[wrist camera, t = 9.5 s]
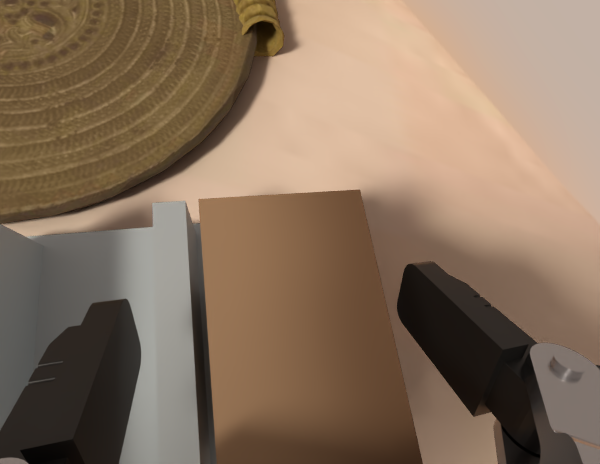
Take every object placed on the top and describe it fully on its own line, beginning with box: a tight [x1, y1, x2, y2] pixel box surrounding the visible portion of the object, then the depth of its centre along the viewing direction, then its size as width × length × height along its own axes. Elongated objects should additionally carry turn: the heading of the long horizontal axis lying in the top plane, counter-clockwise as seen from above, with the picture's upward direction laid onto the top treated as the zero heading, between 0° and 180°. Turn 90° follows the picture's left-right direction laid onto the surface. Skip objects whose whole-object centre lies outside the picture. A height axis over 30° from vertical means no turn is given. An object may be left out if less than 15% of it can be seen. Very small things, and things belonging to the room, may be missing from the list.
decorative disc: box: [0, 0, 284, 224], centre depth 20 cm, size 29×3×30 cm
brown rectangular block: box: [199, 190, 423, 464], centre depth 10 cm, size 4×7×10 cm, turn 9°
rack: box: [0, 201, 217, 464], centre depth 13 cm, size 16×13×6 cm
